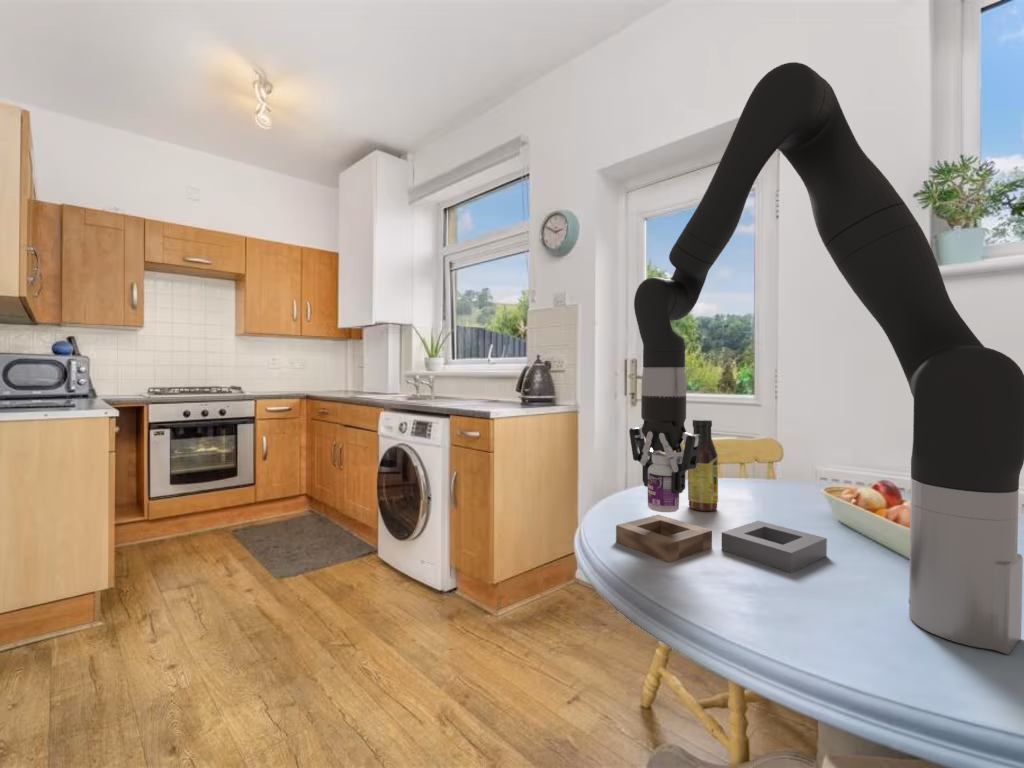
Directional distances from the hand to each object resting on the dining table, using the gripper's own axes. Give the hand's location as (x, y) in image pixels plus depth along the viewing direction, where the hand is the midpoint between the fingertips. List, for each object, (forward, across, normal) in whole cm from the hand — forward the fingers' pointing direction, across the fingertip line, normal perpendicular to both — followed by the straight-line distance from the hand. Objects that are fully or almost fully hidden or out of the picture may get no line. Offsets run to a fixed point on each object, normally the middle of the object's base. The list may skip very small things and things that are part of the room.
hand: (662, 489), depth 85 cm
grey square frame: (+10, -13, -12) cm, 20 cm away
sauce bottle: (+10, +10, -26) cm, 30 cm away
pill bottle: (+4, 0, 0) cm, 4 cm away
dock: (+10, 0, 0) cm, 10 cm away
